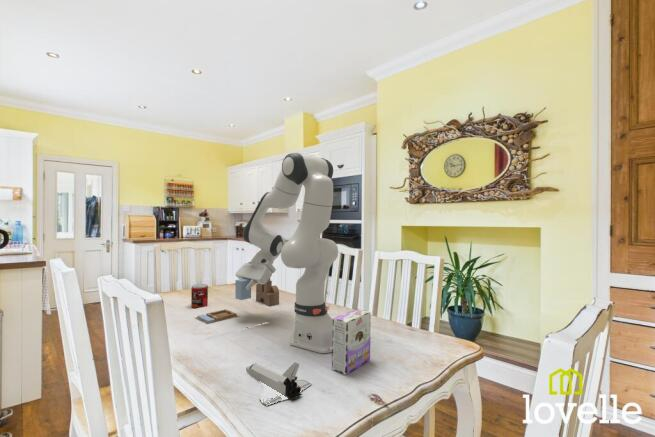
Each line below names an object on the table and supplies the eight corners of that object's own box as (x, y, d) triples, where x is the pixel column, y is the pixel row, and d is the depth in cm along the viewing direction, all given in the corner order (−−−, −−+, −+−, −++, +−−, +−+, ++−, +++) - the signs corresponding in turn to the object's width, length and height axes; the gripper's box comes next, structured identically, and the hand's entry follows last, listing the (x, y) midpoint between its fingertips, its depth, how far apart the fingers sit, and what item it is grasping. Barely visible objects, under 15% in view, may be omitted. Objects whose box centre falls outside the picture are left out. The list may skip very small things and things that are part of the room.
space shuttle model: (267, 362, 109) (267, 332, 109) (319, 391, 91) (320, 355, 91) (223, 378, 98) (224, 345, 98) (274, 415, 80) (275, 374, 80)
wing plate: (214, 321, 144) (214, 319, 144) (208, 323, 142) (208, 320, 142) (203, 316, 151) (203, 314, 151) (197, 317, 148) (197, 315, 148)
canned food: (188, 308, 168) (188, 286, 168) (198, 304, 176) (198, 283, 176) (200, 309, 166) (200, 287, 166) (210, 305, 174) (210, 284, 173)
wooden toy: (279, 304, 177) (280, 257, 177) (269, 306, 173) (269, 258, 173) (264, 298, 189) (265, 255, 189) (254, 300, 184) (254, 255, 184)
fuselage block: (251, 298, 145) (251, 279, 145) (241, 300, 141) (241, 281, 141) (245, 296, 148) (245, 278, 148) (235, 298, 144) (235, 280, 144)
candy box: (356, 355, 114) (356, 308, 114) (370, 360, 110) (371, 311, 110) (331, 369, 103) (331, 317, 103) (346, 375, 99) (347, 321, 99)
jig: (240, 318, 152) (240, 313, 152) (206, 327, 140) (206, 321, 140) (226, 313, 160) (226, 308, 160) (194, 320, 148) (194, 315, 148)
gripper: (244, 257, 157) (225, 280, 149) (270, 261, 143) (250, 287, 135) (252, 265, 160) (233, 289, 153) (278, 270, 146) (259, 296, 139)
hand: (242, 288), depth 144 cm, fingers closed on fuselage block, 4 cm apart
